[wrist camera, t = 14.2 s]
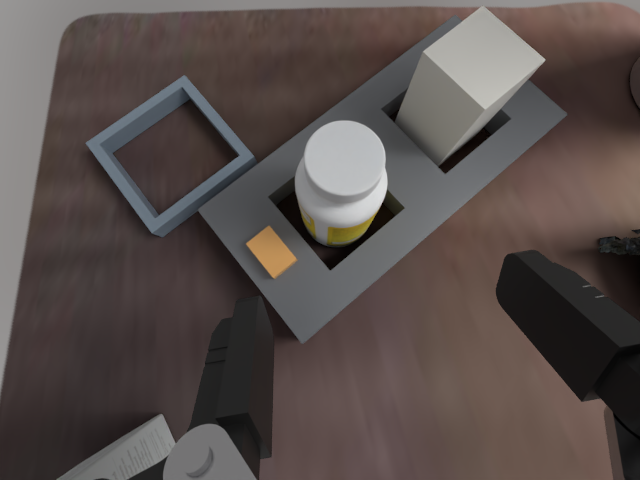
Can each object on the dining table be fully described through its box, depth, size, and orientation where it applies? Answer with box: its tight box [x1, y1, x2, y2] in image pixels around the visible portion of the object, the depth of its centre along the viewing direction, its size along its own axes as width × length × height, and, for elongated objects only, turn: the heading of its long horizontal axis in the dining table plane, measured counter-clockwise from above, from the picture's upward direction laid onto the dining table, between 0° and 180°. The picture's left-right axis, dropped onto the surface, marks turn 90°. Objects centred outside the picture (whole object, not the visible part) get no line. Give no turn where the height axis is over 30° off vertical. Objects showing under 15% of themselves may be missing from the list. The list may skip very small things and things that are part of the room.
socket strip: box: [197, 6, 568, 344], centre depth 20 cm, size 26×12×8 cm, turn 130°
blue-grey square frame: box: [86, 75, 258, 237], centre depth 24 cm, size 10×10×2 cm
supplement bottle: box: [295, 121, 388, 247], centre depth 19 cm, size 5×5×10 cm
